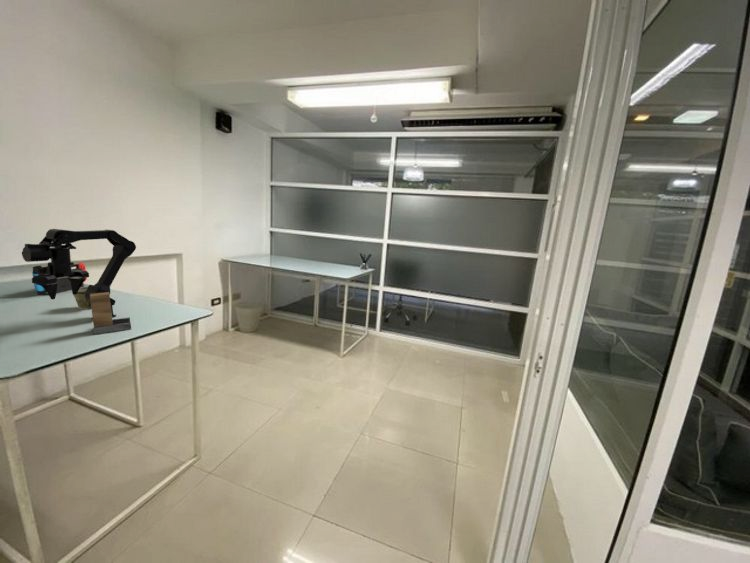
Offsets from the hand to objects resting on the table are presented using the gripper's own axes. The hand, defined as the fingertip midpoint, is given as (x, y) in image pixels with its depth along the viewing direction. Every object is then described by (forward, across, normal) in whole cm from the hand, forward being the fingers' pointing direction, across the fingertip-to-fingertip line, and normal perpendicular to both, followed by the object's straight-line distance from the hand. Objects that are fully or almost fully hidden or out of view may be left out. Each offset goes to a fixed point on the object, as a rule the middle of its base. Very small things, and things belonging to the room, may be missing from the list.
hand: (64, 296), depth 130 cm
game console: (+12, -51, -51) cm, 73 cm away
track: (+13, -1, +18) cm, 23 cm away
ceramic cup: (+13, -24, -11) cm, 29 cm away
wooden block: (+12, 0, +16) cm, 20 cm away
